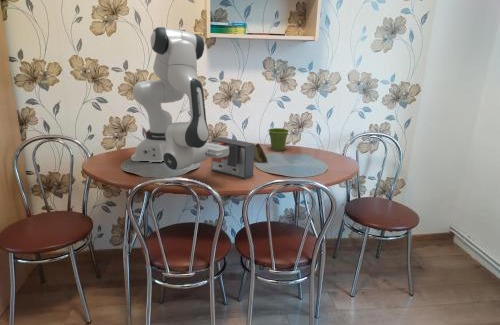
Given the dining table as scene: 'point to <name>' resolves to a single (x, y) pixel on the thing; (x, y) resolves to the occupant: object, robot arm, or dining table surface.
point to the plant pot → (278, 138)
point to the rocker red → (218, 158)
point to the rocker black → (232, 155)
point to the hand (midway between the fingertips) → (218, 144)
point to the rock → (259, 154)
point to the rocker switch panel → (243, 159)
